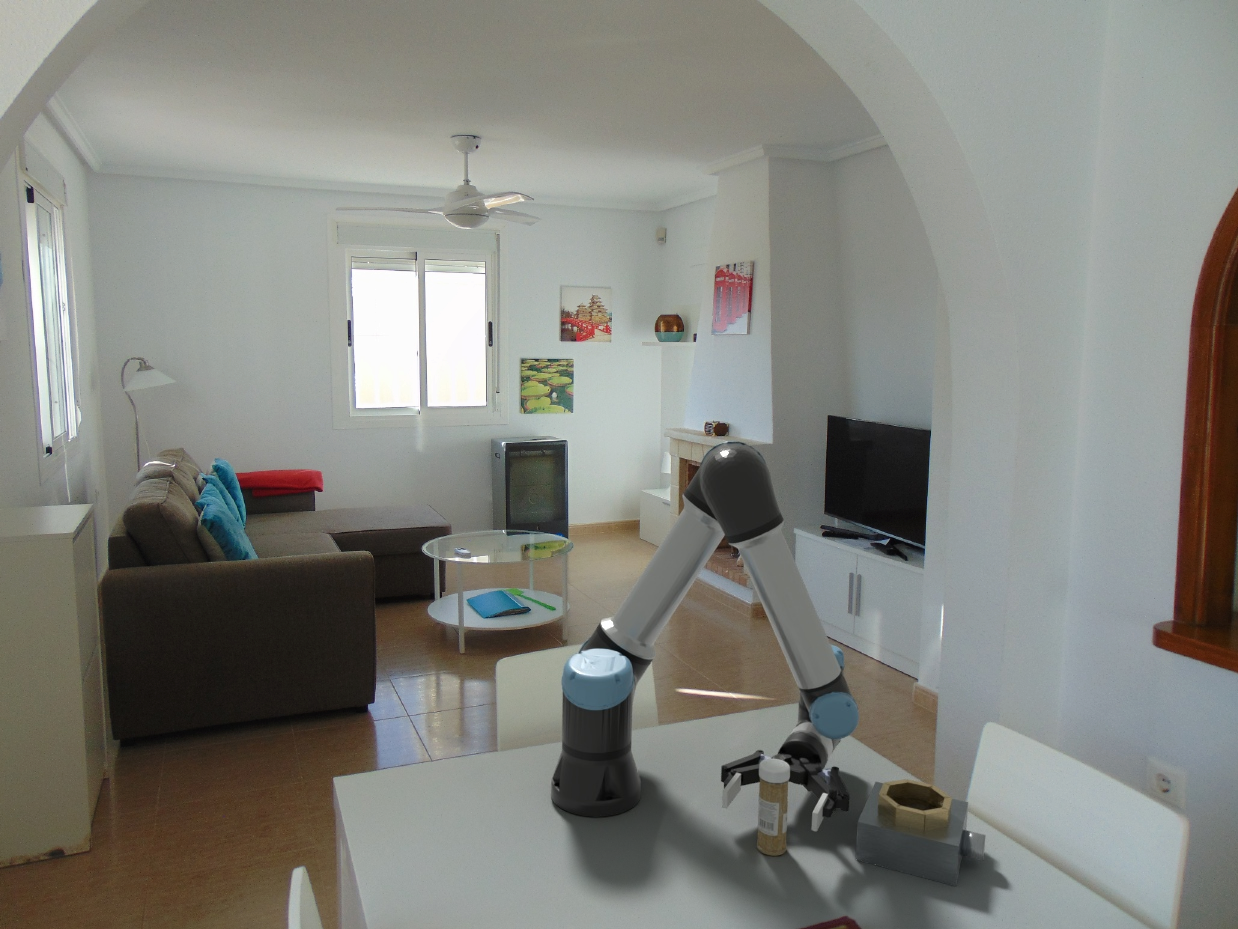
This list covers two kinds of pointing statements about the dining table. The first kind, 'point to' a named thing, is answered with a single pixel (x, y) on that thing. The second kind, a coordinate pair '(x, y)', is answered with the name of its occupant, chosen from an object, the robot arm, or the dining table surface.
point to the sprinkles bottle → (773, 806)
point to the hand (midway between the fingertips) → (768, 810)
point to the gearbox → (916, 831)
